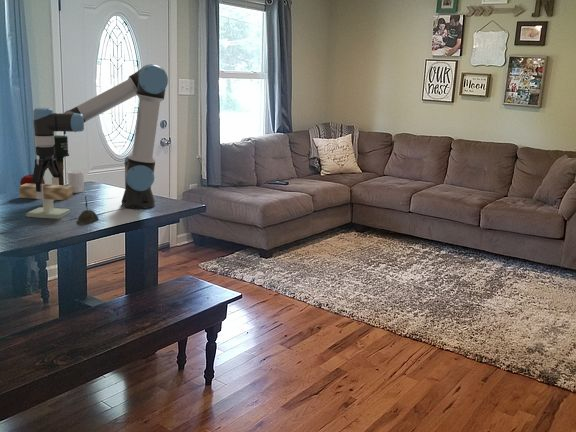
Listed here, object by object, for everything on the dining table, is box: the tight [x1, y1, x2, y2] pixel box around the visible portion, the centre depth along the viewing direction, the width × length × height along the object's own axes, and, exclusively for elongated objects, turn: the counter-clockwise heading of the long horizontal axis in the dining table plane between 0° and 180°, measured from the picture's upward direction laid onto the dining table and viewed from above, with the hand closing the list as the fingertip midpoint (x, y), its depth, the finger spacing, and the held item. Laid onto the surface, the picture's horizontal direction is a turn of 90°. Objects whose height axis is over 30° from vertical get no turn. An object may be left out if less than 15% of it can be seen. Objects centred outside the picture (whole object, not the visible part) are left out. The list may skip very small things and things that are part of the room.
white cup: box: [66, 170, 85, 194], centre depth 299 cm, size 8×8×10 cm
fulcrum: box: [25, 199, 71, 220], centre depth 253 cm, size 14×11×8 cm
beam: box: [18, 183, 74, 201], centre depth 252 cm, size 20×6×5 cm, turn 89°
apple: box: [19, 173, 45, 186], centre depth 282 cm, size 11×11×12 cm
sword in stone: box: [77, 195, 99, 225], centre depth 246 cm, size 10×8×12 cm
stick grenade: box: [53, 135, 70, 185], centre depth 278 cm, size 8×9×30 cm
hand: (48, 195), depth 252 cm, fingers open, 13 cm apart
